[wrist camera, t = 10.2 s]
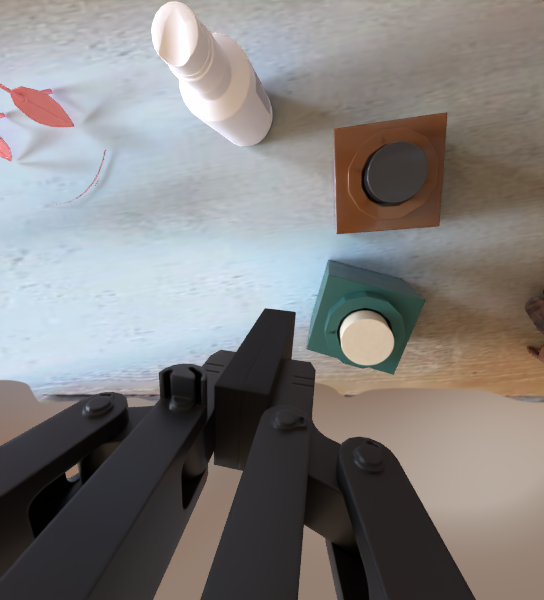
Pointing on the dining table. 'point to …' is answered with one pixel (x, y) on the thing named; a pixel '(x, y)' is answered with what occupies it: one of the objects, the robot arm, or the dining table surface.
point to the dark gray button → (396, 172)
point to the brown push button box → (357, 154)
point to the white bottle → (212, 75)
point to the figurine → (37, 112)
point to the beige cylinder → (366, 338)
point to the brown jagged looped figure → (536, 321)
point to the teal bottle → (362, 296)
